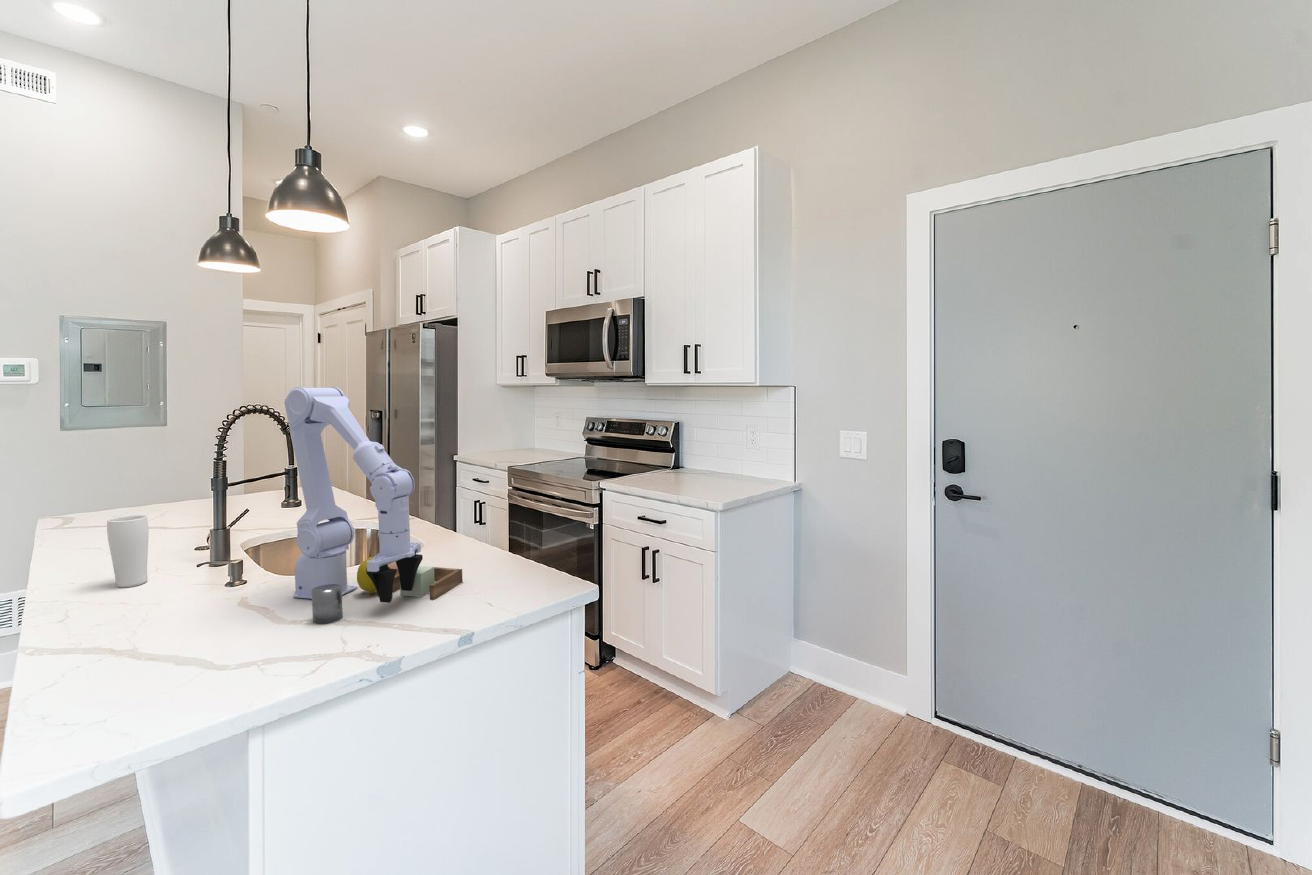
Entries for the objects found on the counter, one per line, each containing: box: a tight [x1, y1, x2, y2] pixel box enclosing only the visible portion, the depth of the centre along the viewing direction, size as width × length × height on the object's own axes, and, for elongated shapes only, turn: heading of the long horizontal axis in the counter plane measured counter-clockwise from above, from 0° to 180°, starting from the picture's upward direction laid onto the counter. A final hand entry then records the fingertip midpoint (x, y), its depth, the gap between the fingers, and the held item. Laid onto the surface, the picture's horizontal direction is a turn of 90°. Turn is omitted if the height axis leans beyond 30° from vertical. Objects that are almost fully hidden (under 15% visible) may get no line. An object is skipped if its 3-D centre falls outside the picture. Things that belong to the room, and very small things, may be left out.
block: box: [399, 565, 435, 598], centre depth 128 cm, size 5×5×5 cm
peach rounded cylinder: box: [388, 562, 399, 575], centre depth 136 cm, size 4×4×5 cm
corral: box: [393, 566, 463, 601], centre depth 131 cm, size 12×12×3 cm
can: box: [311, 584, 344, 625], centre depth 113 cm, size 5×5×6 cm
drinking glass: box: [106, 514, 149, 588], centre depth 132 cm, size 7×7×15 cm
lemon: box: [356, 556, 377, 595], centre depth 127 cm, size 6×6×8 cm
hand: (396, 595), depth 121 cm, fingers open, 6 cm apart
